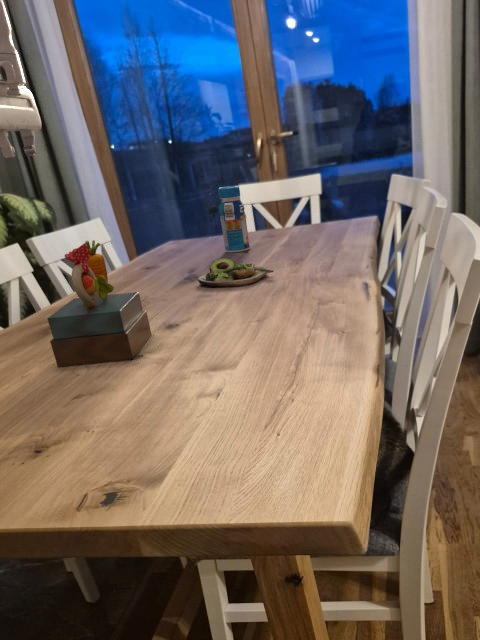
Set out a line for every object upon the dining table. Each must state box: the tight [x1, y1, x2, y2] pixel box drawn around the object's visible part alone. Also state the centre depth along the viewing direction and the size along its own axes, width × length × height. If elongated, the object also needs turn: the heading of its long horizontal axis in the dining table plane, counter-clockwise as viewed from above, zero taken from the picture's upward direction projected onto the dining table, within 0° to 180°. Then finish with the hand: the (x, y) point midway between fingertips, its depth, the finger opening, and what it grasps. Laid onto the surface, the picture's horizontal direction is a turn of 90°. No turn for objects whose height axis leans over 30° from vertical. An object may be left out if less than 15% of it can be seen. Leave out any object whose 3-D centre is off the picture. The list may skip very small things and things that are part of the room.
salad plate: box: [197, 257, 274, 288], centre depth 153 cm, size 19×18×5 cm
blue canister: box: [217, 185, 251, 254], centre depth 188 cm, size 8×8×20 cm
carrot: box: [84, 239, 109, 283], centre depth 146 cm, size 5×5×15 cm
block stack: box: [47, 291, 152, 368], centre depth 109 cm, size 14×14×9 cm
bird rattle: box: [64, 242, 115, 308], centre depth 105 cm, size 6×11×9 cm
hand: (21, 156), depth 113 cm, fingers open, 8 cm apart
